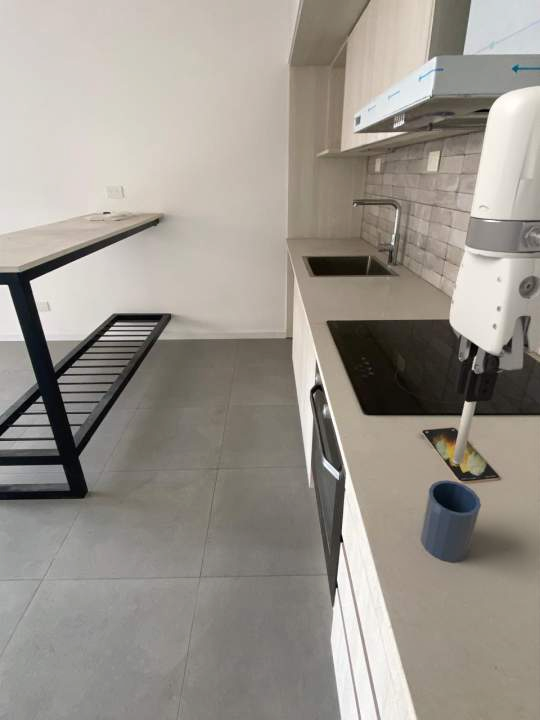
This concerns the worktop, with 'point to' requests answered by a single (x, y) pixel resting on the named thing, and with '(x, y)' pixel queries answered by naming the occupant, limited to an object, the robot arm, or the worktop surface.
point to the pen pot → (449, 520)
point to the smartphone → (472, 463)
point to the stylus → (464, 430)
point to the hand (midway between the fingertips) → (472, 395)
